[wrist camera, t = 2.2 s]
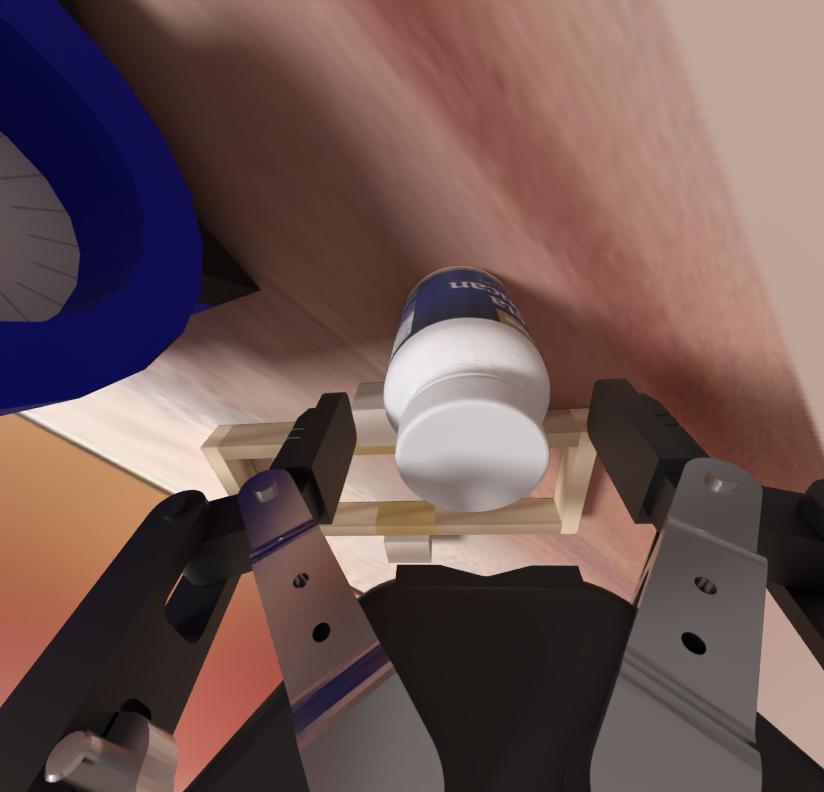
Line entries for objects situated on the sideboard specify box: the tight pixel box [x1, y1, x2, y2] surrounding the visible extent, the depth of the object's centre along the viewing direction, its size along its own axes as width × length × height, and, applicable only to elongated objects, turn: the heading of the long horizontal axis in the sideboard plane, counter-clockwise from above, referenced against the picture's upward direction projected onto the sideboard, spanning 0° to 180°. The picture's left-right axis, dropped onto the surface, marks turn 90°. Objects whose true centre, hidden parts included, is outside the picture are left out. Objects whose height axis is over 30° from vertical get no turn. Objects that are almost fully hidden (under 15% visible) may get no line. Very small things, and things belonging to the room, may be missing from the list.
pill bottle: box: [384, 266, 550, 512], centre depth 13 cm, size 5×5×10 cm
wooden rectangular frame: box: [201, 382, 597, 563], centre depth 22 cm, size 13×22×2 cm, turn 96°
